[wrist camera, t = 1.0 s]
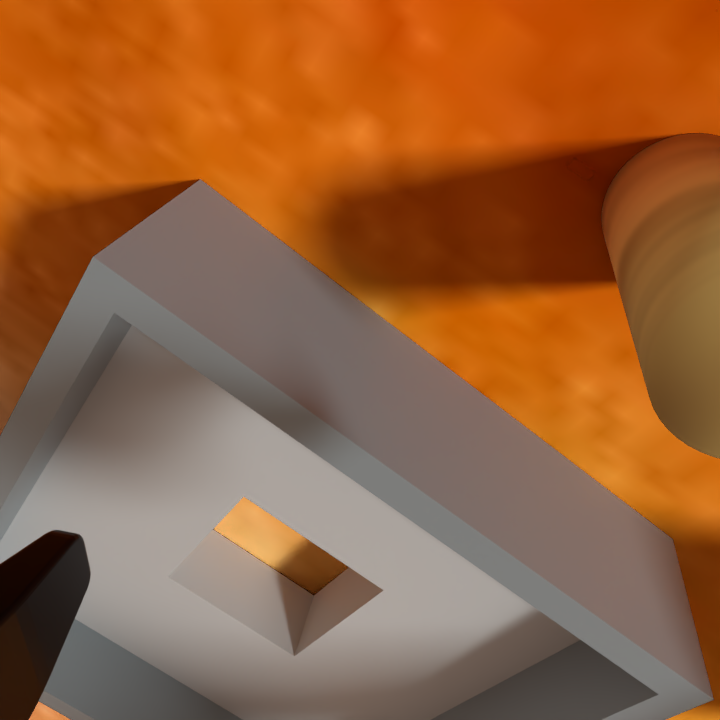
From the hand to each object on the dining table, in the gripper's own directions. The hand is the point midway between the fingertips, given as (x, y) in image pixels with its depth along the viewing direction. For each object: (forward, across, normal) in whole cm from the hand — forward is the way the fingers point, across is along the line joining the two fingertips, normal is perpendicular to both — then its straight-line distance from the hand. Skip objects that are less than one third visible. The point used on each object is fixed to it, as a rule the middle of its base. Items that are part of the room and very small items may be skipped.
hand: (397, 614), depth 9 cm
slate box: (+12, +4, +13) cm, 19 cm away
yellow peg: (+12, -6, -2) cm, 14 cm away
